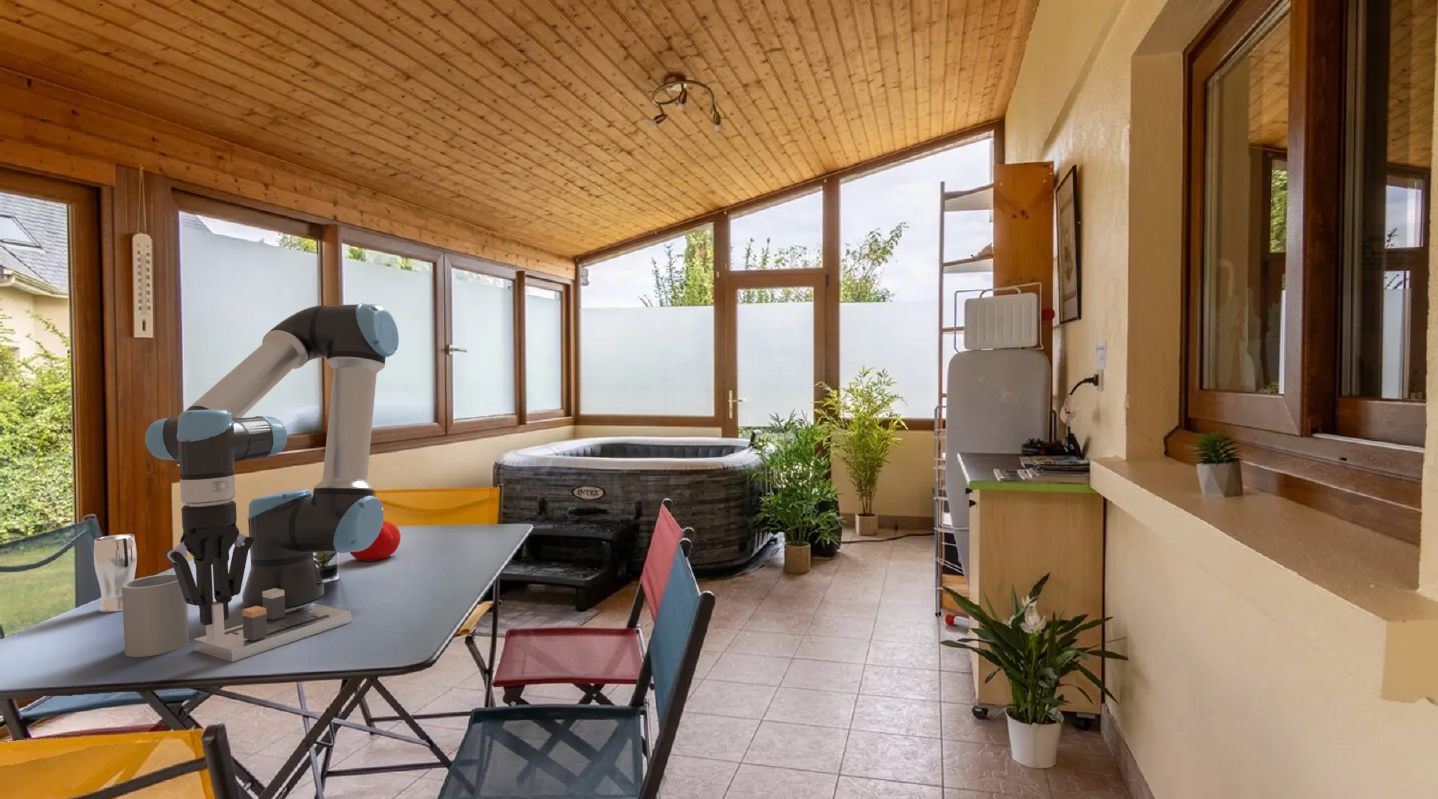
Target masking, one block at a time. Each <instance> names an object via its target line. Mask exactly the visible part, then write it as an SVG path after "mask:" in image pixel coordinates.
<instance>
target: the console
mask: <svg viewBox="0 0 1438 799" xmlns="http://www.w3.org/2000/svg"><path fill="white" fill-rule="evenodd" d="M352 619H353V618H352V611H351V610H345V609H340V608H336V607H331V606H327V605H322V604H317V603H311V604H306V605H303V606H300V607H297V608H294V609H290V610H287V611H286V610H285V616H284V617H281V618H277V619H274V620H271V619H267V636H266V637H263V638H260V639H257V640H254V641H253V640H249V639H245V638H243V624H239V625H236V626H233V627H230V628H227V629H224V632H225V642H222V643H219V644H212V643H209V642H207V640H206V635H203V636H200V637H195V638H194V639H193V650H194V651H195V652H198V653H202V654H205V655H208V656H212V657H214V658H218V659H221V660H225V661H227V662H231V663H234V662H236V661H237V662H238V661H240V660H242V659H246V658H248V657H252V656H255V655H258V654H260V653H263V652H266V651H269V650H272V649H275V648H278V647H281V646H284V645H287V644H289V643H293V642H297V641H299V640H303V639H305V638H308V637H312V636H313V635H316V634H320V633H323V632H326V631H329V630H333V629H334V628H338V627H340V626H343V625H346V624H350V623H352V622H353V621H352Z"/></svg>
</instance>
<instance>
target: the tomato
mask: <svg viewBox="0 0 1438 799" xmlns="http://www.w3.org/2000/svg"><path fill="white" fill-rule="evenodd" d="M401 536H402V535H401V532H400V529H399V528H398V527H397V525H396V524H394V523H392V522H390V521H389V520H387V519H386V521H385V520H383V524H382V528H381V530H380V533H379V535H378V537H377V538H376V540H374V542H373V543H372V544H371V545H370V546H369V547H368V548H366V549H364V550H362V551H358V552H349V554H351V556H352V557H353V558H354V559H356V560H358V561H364V562H372V561H373V562H375V561H378V560H382V559H386V558H388V557H390V556H391V555H393V554H394V553H395V552H396V551H397V549H398V548H399V546H400V543H401V538H402V537H401Z"/></svg>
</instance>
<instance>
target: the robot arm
mask: <svg viewBox="0 0 1438 799" xmlns="http://www.w3.org/2000/svg"><path fill="white" fill-rule="evenodd" d="M399 342H400V341H399V332H398V326H397V324H396V322H395V320H394V317H393V316H392V314H391V313H390V312H389V311H388V310H387V309H386V308H385V307H384V306H381V305H379V304H368V303H358V304H334V305H332V304H331V305H329V304H328V305H327V304H326V305H325V304H324V305H323V304H322V305H320V304H319V305H314V306H310V307H307V308H304V309H302V310H300V311H298V312H296V313H294V314H291V315H290V316H289V317H287V318H284V319H283V320H282V321H280V322H279V323H278V324H276V325H275V326H273V328H271V329H270V330H269V331H268V332H267V333H265V335H264V336H262V341H261V344H260V345H259V346H258V347H257V348H256V349H255V350H254V351H253V352H251V353H250V354H249V355H248V356H247V357H246V358H244V359H243V360H242V361H241V362H240V363H238V365H237V366H235V367H234V368H233V369H232V370H230V371H229V372H228V373H227V374H226V375H225V376H224V377H223V378H221V379H220V380H219V381H218V382H217V383H215V384H214V385H213V386H212V387H211V388H209V390H207V391H206V392H205V393H204V394H203V395H202V396H201V397H199V398H198V399H197V400H196V401H195V402H194V403H192V404H191V405H190V406H189V407H188V408H187V409H186V410H185V411H183V412H181V413H179V415H178V416H176V417H174V418H173V417H167V418H162V419H161V418H160V419H158V420H156V421H154V422H152V423H151V424H150V425H149V426H148V428H147V430H146V432H145V437H144V438H145V440H144V441H145V446H146V447H147V448H146V449H147V450H148V452H149V453H150V454H151V455H152V456H153V457H155V458H157V459H160V460H171V461H178V462H179V463H178V464H179V487H180V488H179V489H180V490H179V491H180V492H179V493H180V502H181V503H182V504H185V505H182V507H181V508H180V509H181V510H180V511H181V525H182V526H181V527H182V532H183V533H182V535H181V537H180V541H179V542H180V543H179V544H178V545H177V546H175V547H174V548H173V549H172V550H167V551H165V553H164V557H165V558H166V559H167V560H168V561H169V562H170V563H171V565H172V567H173V570H174V572H175V573H174V574H176V576H177V579H178V582H179V585H180V588H181V590H182V593H183V596H184V599H185V602H186V603H187V605H190V606H191V605H192V606H197V607H198V608H199V622H200V624H201V625H202V626H205V633H206V634H205V636H206V640H207V642H209V643H212V644H219V643H222V642H225V632H224V630H225V621H226V620H229V618H230V614H229V603H230V602H231V601H232V599H233V597H234V596H238V595H240V593H241V591H242V586H243V581H244V576H245V569H246V565H247V560H248V554H249V553H250V554H249V555H250V570H249V573H248V576H247V579H246V582H245V586H244V589H243V593H242V607H244V609H247V608H250V607H254V606H259V607H263V597H262V592H263V591H266V590H270V589H274V588H276V589H281V590H284V596H285V609H287V608H291V607H296V606H300V605H304V604H307V603H311V602H314V601H315V600H318V599H320V598H322V596H324V594H325V588H324V587H325V586H324V581H323V578H322V577H321V574H320V572H319V570H318V567H317V564H316V562H315V561H314V560H315V559H314V553H339V554H346V553H350V552H358V551H362V550H364V549H366V548H368V547H369V546H370V545H371V544H372V543H373V542H374V540H376V538H377V537H378V535H379V533H380V530H381V528H382V524H383V521H384V518H385V517H384V514H385V511H384V508H383V503H382V502H381V500H380V499H379V498H378V497H376V496H374V491H375V488H374V487H373V486H372V485H371V484H370V483H369V481H368V474H369V464H370V451H371V450H370V449H371V442H372V440H371V439H372V430H373V420H374V418H373V417H374V409H375V408H374V406H375V398H376V386H377V374H378V373H379V372H381V371H382V370H383V369H384V368H385V365H386V358H389V357H391V356H393V355H394V354H395V353H396V351H397V350H398V347H399ZM320 358H326V363H327V364H328V365H329V366H330V367H331V369H332V370H333V372H332V382H331V390H330V391H331V394H330V403H329V411H328V412H329V414H328V421H327V432H326V443H325V453H324V454H325V455H324V463H323V473H322V479H321V481H319V482H318V483H317V484H315V485H314V486H313V490H312V491H313V492H311V490H310V489H309V488H302V489H301V488H300V489H294V490H288V491H283V492H276V493H271V494H267V495H262V496H258V497H255V498H253V499H252V500H251V501H250V502H249V503H248V517H247V521H248V535H245V534H243V533H241V532H240V529H239V528H238V527H237V520H238V519H237V518H238V517H237V503H236V502H235V501H234V500H233V499H234V498H235V497H236V483H235V482H236V480H235V463H237V462H243V461H250V460H257V459H263V460H265V459H266V458H269V457H273V456H276V455H278V454H279V453H281V452H282V451H283V450H284V449H285V447H286V445H287V441H288V432H287V429H286V426H285V425H284V424H283V422H281V420H279V419H277V418H276V417H274V416H273V417H272V416H263V415H261V416H259V415H256V416H253V417H244V416H245V415H246V414H247V413H248V412H249V411H250V410H252V408H254V406H255V405H257V403H259V402H260V401H261V400H262V399H263V398H264V397H265V396H266V394H268V393H269V392H270V391H271V390H273V388H275V386H277V384H278V383H279V382H281V381H282V380H283V379H284V378H285V377H286V376H287V375H288V374H289V373H290V372H291V371H292V370H294V369H295V370H296V369H300V368H302V367H303V366H305V365H306V364H307V363H308V362H309V361H313V360H316V359H320ZM233 545H234V547H233ZM232 547H233V550H232V555H231V560H230V550H231V549H232ZM187 552H189V554H190V555H191V556H192V557H193V563H194V565H195V575H196V576H195V577H196V578H194V576H193V572H192V569H191V567H190V564H189V562H188V560H187V559H186V558H188V555H187ZM229 561H230V564H229ZM195 579H196V580H195Z"/></svg>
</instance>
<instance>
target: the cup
mask: <svg viewBox="0 0 1438 799" xmlns="http://www.w3.org/2000/svg"><path fill="white" fill-rule="evenodd" d="M122 604H123V610H122V617H123V618H122V620H123V636H124V639H123V640H124V654H125V656H127V657H132V658H140V657H141V658H143V657H151V656H157V655H162V654H167V653H170V652H174V651H176V650H179V649H181V648H183V647H185V646H187V645H188V644H189V643H190V633H189V629H190V628H189V612H188V610H189V609H188V604H187V603H186V602H185V599H184V596H183V593H182V590H181V588H180V585H179V582H178V579H177V576H176V573H165V574H156V575H149V576H145V577H144V576H143V577H139V578H136V579H135V578H134V580H131V581H128V582H126V583H124V584H123V585H122Z"/></svg>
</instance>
